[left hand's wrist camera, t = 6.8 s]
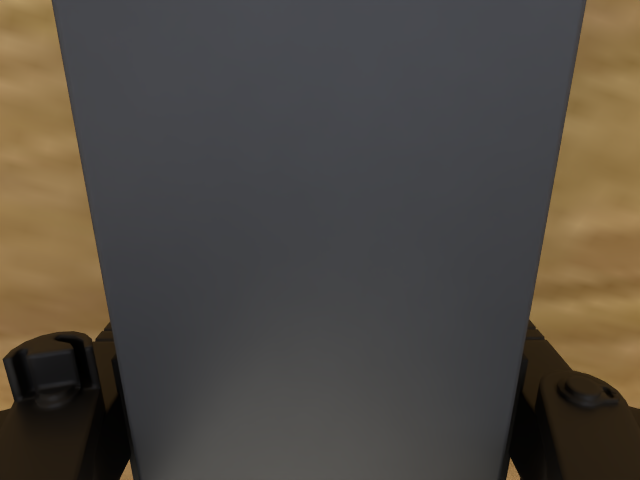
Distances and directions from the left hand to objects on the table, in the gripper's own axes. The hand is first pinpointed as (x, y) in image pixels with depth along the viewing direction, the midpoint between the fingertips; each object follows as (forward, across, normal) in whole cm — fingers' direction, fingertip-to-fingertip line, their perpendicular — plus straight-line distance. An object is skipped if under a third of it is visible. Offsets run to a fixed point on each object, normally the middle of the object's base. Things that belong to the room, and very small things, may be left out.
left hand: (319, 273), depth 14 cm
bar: (+1, 0, -26) cm, 26 cm away
